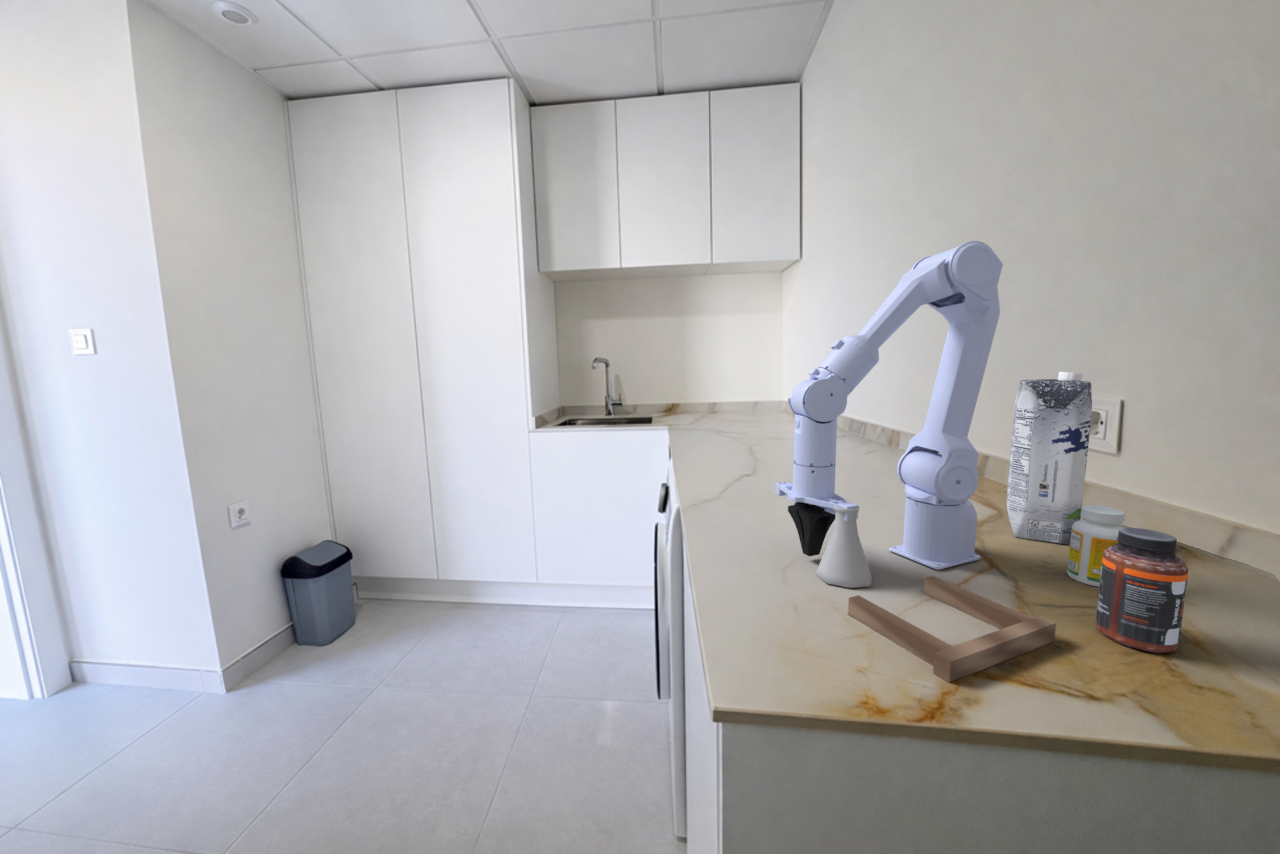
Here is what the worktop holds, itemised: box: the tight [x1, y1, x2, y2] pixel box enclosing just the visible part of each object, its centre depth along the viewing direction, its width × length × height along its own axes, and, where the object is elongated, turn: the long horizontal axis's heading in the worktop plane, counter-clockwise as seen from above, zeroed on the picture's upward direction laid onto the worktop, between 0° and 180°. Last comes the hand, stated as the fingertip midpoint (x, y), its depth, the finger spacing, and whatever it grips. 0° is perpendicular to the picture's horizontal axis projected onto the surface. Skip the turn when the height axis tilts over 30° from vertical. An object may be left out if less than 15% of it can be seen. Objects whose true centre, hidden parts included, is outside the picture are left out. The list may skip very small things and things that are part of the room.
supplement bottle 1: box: [1066, 504, 1126, 588], centre depth 61 cm, size 5×5×10 cm
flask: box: [815, 503, 873, 589], centre depth 63 cm, size 7×7×10 cm
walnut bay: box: [847, 575, 1057, 683], centre depth 51 cm, size 16×12×2 cm
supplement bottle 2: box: [1095, 527, 1189, 654], centre depth 48 cm, size 6×6×11 cm
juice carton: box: [1006, 371, 1093, 546], centre depth 77 cm, size 9×10×27 cm
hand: (811, 553), depth 69 cm, fingers closed
